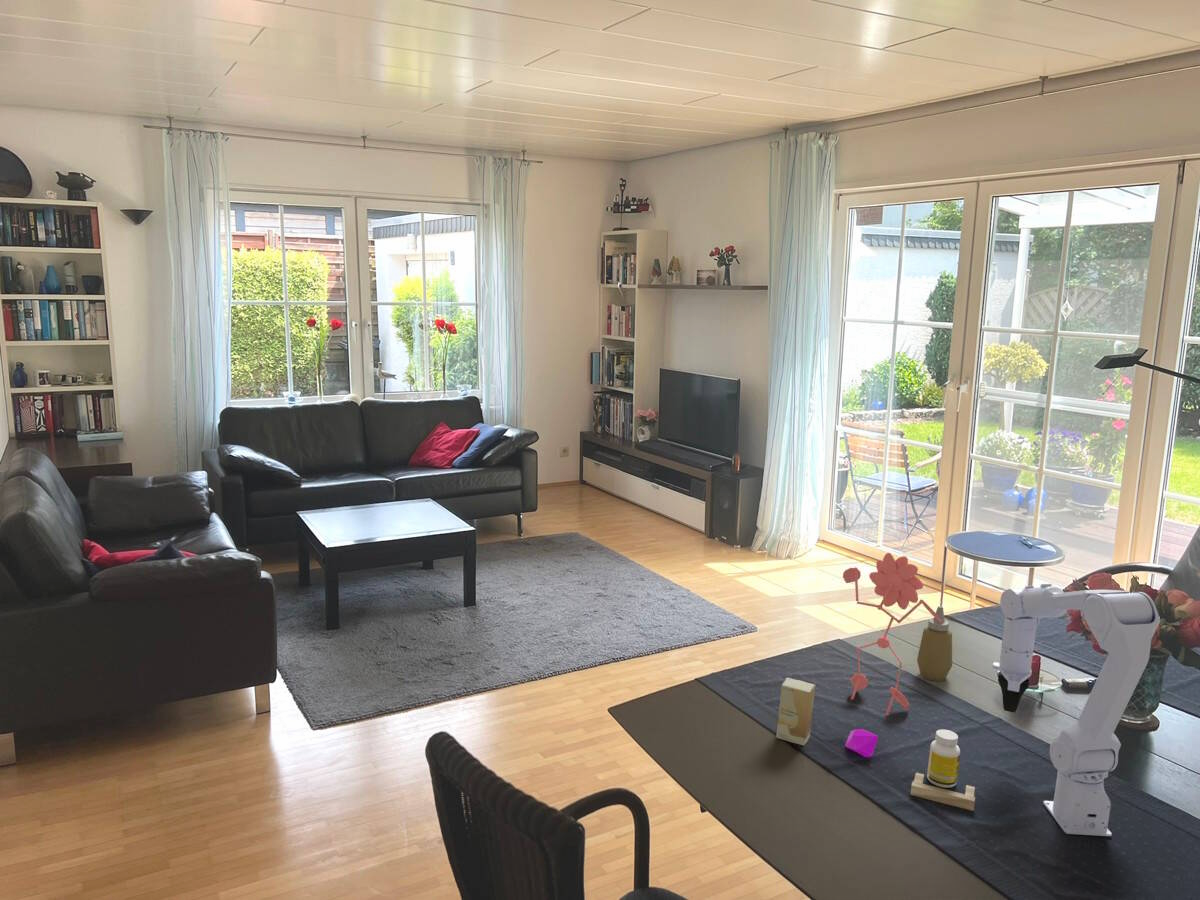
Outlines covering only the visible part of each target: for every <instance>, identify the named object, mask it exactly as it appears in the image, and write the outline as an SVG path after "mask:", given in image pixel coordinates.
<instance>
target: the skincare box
mask: <svg viewBox="0 0 1200 900" xmlns="http://www.w3.org/2000/svg"><path fill="white" fill-rule="evenodd" d="M815 691H816V684H815V683H814V684H813V683H809V682H807V681H803V680H799V679H794V678H790V677H786V678H785V679H784V681H783V682H782V684H781V688H780V697H779V707H778V715H777V716H778V717H777V725H776V726H777V728H776V739H779V740H783V741H786V742H790V743H794V744H798V745H800V746H806V744H807V742H808V740H809V739H810V736H811V727H812V718H813V709H814V701H815Z"/></svg>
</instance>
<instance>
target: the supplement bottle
mask: <svg viewBox="0 0 1200 900" xmlns="http://www.w3.org/2000/svg"><path fill="white" fill-rule="evenodd" d="M934 737H935V740H933V741H931V743H930V747H929V757H928V765H927V771H926V773H927V774H926V778H927V780H928V781H929V782H930V783H931V784H932V785H935V787H938V788H944V789H946V788H954V787H955V786H956V785H957V781H958V775H959V774H958V773H959V766H960V765H959V764H960V758H961V757H960V756H961V749H960V747H959V745H958V742H959V735H958V734H957V733H956V732H954V731H952V730H949V729H938V730H936V732H935V736H934Z"/></svg>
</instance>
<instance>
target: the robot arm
mask: <svg viewBox="0 0 1200 900" xmlns="http://www.w3.org/2000/svg"><path fill="white" fill-rule="evenodd" d="M999 602H1000V604H999V605H1000V609H1001V611H1002V613H1003V615H1004V624H1003V629H1002V630H1003V633H1002V639H1001V649H1000V655H999V662H998V661H994V662H992V669H995V670H998V674H997V676H998V677H997V682H998V684H999V687H1000V689H1001V694H1002V706H1003V711H1005V712H1010V713H1016V712H1017V709H1018V707H1019V704H1020V701H1021V699H1022V696H1023V695H1024V693H1025V692H1026V691H1027V690H1028V688H1029V687H1030V677H1031V676H1032V664H1033V656H1034V646H1035V640H1036V632H1037V628H1038V627H1039V626H1040V624H1041V619H1043V618H1044V619H1047V618H1048V619H1050V618H1051V619H1052V618H1053V619H1054V618H1060V617H1062V616H1064V615H1065V614H1066V613H1067V611H1080V616H1081V617H1082V618H1084V619H1085V622H1086V624H1087V626H1088V627H1089V629H1090V631H1091V633H1092V635H1093V636H1094V639H1095V641H1096V642H1097V643H1098V646H1099V647H1100V649H1101V650H1103V651H1106V652H1107V657H1106V659H1105V660H1104V663H1103V665H1102V668H1101V669H1100V671H1099V674H1098V677H1097V679H1096V681H1095V683H1094V685H1093V687H1092V689H1091V690H1090V691H1091V692H1090V693H1089V695H1088V698H1087V700H1086V702H1085V704H1084V706H1083V709H1082V711H1081V713H1080V715H1079V718H1078V719H1077V721H1075V722H1074V723H1072V724H1070V725H1068V726H1067V727H1065V728H1064V729H1062V730H1061V731H1060V734H1059V735H1058V736H1057V737H1056V738H1055V737H1054V739H1052V741H1051V743H1050V746H1049V757H1050V760H1051V763H1052V765H1053V766H1054V768H1055V769H1056V770H1057V776H1056V782H1055V789H1054V796H1053V800H1043V805H1044V806H1045V808H1046V809H1047V810H1048V812H1049V813H1050V814H1051V816H1052V817H1053V819H1054V820H1055V821H1056V823H1057V824H1058V825H1059V827H1060V828H1061V829H1062V831H1063V832H1064V833H1065V834H1066V835H1067V834H1068V835H1082V836H1096V837H1097V836H1099V837H1112V836H1113V835H1112V832H1111V831H1110V830H1109V828H1108V826H1109V820H1110V812H1111V805H1112V804H1111V803H1112V802H1111V800H1110V798H1109V796H1108V794H1107V793H1106V789H1105V787H1104V783H1105V781H1104V779H1106V778H1108V777H1109V772H1112V771H1114V770H1115V769H1116V768H1117V766H1118V763H1119V751H1120V749H1121V746H1122V743H1121V742H1120V740H1119V738H1118V737H1117V735H1116V734H1115V731H1116V729H1117V726H1118V724H1119V722H1120V720H1121V719H1122V716H1123V714H1124V711H1125V710H1126V708H1127V707H1128V703H1129V702H1130V700H1131V697H1132V695H1133V693H1134V692H1135V689H1137V688H1136V687H1137V685H1138V684H1139V682H1140V679H1141V677H1142V675H1143V673H1144V671H1145V670H1146V667H1147V665H1148V662H1149V660H1150V655H1151V654H1150V653H1151V647H1152V645H1151V644H1152V640H1153V637H1154V635H1155V633H1156V630H1157V629H1158V626H1159V624H1160V622H1161V618H1160V614H1159V612H1158V610H1157V607H1156V604H1155V602H1154V600H1153V599H1152V597H1151V596H1150V595H1149V594H1147V593H1145V592H1144V591H1143V592H1142V591H1134V592H1131V591H1127V590H1118V589H1086V590H1076V591H1068V592H1067V591H1065V592H1064V591H1063V590H1062V588H1060V587H1057V586H1053V585H1052V583H1041V584H1040V587H1034V586H1033V585H1025V587H1024V588H1017V589H1016V588H1008V589H1006V590H1004V591H1002V593H1001V595H1000V599H999Z"/></svg>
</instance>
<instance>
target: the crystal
mask: <svg viewBox="0 0 1200 900" xmlns="http://www.w3.org/2000/svg"><path fill="white" fill-rule="evenodd" d="M878 738H879V735H877V734H874V733H872V732H870V731H868V730H865V729H863V728H859V729H853V730H850V732H849V734H848V737H847V739H846V742H845V745H844V747H845V746H846V747H847V749H848V748H849V750H850V749H851V751H852V750H853V751H852V752H854V751H855V753H856V752H857V753H856V754H858V753H859V755H860V754H861V755H860V756H862V755H863V756H862V757H864V758H867V757H868V758H870V757H872V756H873V754H874V752H875V748H876V745H877V741H878ZM846 747H845V748H846Z"/></svg>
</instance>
